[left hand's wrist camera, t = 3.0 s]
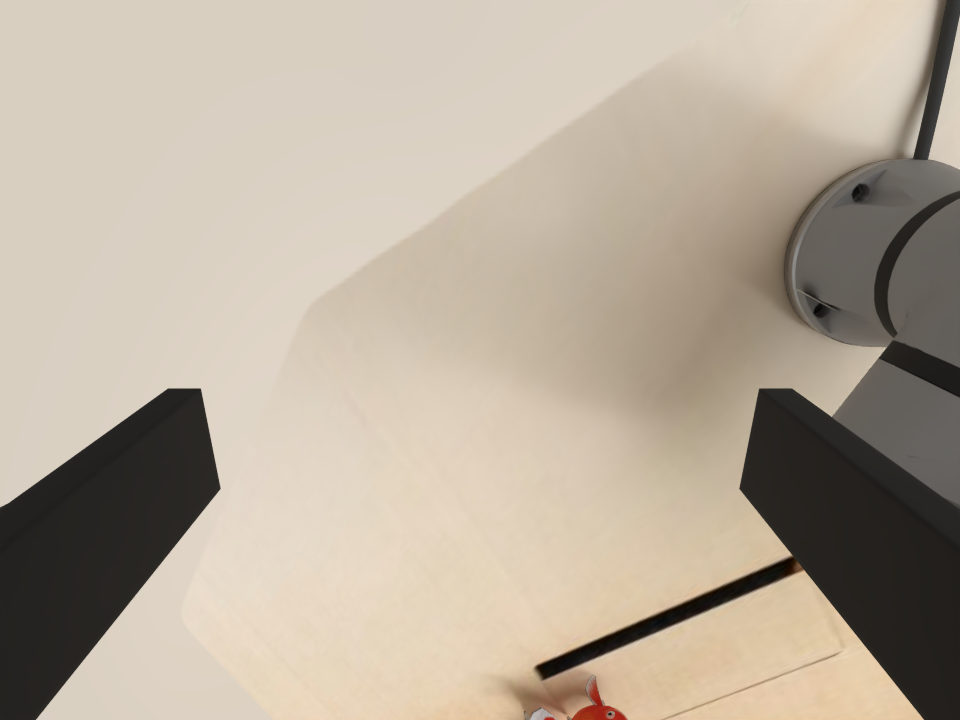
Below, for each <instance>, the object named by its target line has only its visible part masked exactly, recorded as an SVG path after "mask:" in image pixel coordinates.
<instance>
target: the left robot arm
mask: <svg viewBox="0 0 960 720" xmlns="http://www.w3.org/2000/svg"><path fill="white" fill-rule="evenodd" d="M959 16H960V0H947V2H946V7H945V12H944V17H943V22H942V28H941V33H940V38H939V43H938V48H937V53H936V58H935V63H934V68H933V72H932V77H931V82H930V86H929V91H928V96H927V100H926V105H925V109H924V114H923V118H922V123H921V127H920V132H919V136H918V140H917V144H916V149H915V153H914V157H913V159H890V160H884V161H879V162H875V163H871V164H868V165H865V166H862V167H860V168H858V169H856V170H853V171H851V172H850V173H848V174H846V175H844V176H843V177H841V178H840V179H838V180H837V181H835V182H834V183H833V184H831V185H830V186H829V187H827V188H826V189H825V190H824V191H823V192H822V193H821V194H820V195H819V196H818V197H817V198H816V199H815V200H814V201H813V202H812V203H811V205H810V206H809V207H808V208H807V210H806V211H805V213H804V214H803V216H802V217H801V219H800V220H799V222H798V224H797V226H796V227H795V230H794V232H793V234H792V236H791V239H790V242H789V245H788V249H787V253H786V258H785V267H784V276H785V285H786V290H787V294H788V297H789V299H790V302H791V304H792V306H793V308H794V310H795V311H796V312H797V314H798V315H799V317H800V318H801V319H802V320H803V321H804V322H805V323H806V324H808V325H809V326H810V327H811V328H813V329H814V330H816V331H818V332H820V333H822V334H824V335H826V336H828V337H830V338H832V339H834V340H836V341H839V342H842V343H846V344H850V345H856V346H866V347H887V348H886V349H885V351H884V352H883V353H882V355H881V356H880V357H879V358H878V359H877V361H876V362H875V363H874V365H873V366H872V367H871V368H870V370H869V371H868V372H867V373H866V375H865V376H864V377H863V378H862V380H861V381H860V382H859V383H858V385H857V386H856V387H855V389H854V390H853V391H852V392H851V394H850V395H849V396H848V397H847V399H846V400H845V401H844V402H843V404H842V405H841V406H840V407H839V409H838V410H837V411H836V413H835V414H834V415H833V416H832V417H831V416H829V415H828V414H827V413H825V412H824V411H822V410H821V409H820V408H818V407H817V406H815V405H814V404H813V403H811V402H810V401H808V400H807V399H806V398H804V397H803V396H802V395H800V394H799V393H797V392H796V391H795V390H793V389H759V392H758V397H757V402H756V408H755V413H754V418H753V423H752V428H751V433H750V438H749V443H748V448H747V453H746V458H745V463H744V468H743V473H742V478H741V483H740V488H739V489H740V490H741V491H742V493H743V494H744V495H745V496H746V498H747V499H748V500H749V501H750V503H751V504H752V505H753V506H754V508H755V509H756V510H757V511H758V513H759V514H760V515H761V516H762V518H763V519H764V520H765V521H766V523H767V524H768V525H769V526H770V528H771V529H772V530H773V531H774V533H775V534H776V535H777V536H778V538H779V539H780V540H781V541H782V543H783V544H784V545H785V546H786V548H787V549H788V550H789V551H790V553H791V554H792V555H793V556H794V558H795V559H796V560H797V561H798V563H799V564H800V565H801V566H802V568H803V569H804V570H805V571H806V573H807V574H808V575H809V576H810V578H811V579H812V580H813V581H814V583H815V584H816V585H817V586H818V588H819V589H820V590H821V591H822V593H823V594H824V595H825V596H826V598H827V599H828V600H829V601H830V603H831V604H832V605H833V606H834V608H835V609H836V610H837V611H838V613H839V614H840V615H841V616H842V618H843V619H844V620H845V621H846V623H847V624H848V625H849V626H850V628H851V629H852V630H853V631H854V633H855V634H856V635H857V636H858V638H859V639H860V640H861V641H862V643H863V644H864V645H865V646H866V648H867V649H868V650H869V651H870V653H871V654H872V655H873V656H874V658H875V659H876V660H877V661H878V663H879V664H880V665H881V666H882V668H883V669H884V670H885V671H886V673H887V674H888V675H889V676H890V678H891V679H892V680H893V681H894V683H895V684H896V685H897V686H898V688H899V689H900V690H901V691H902V693H903V694H904V695H905V696H906V698H907V699H908V700H909V701H910V703H911V704H912V705H913V706H914V708H915V709H916V710H917V711H918V713H919V714H920V715H921V716H922V718H923V719H924V720H960V170H959V169H957V168H954V167H952V166H950V165H947V164H944V163H941V162H938V161H934V160H928V156H929V152H930V148H931V144H932V140H933V136H934V131H935V127H936V123H937V119H938V114H939V110H940V105H941V101H942V96H943V92H944V87H945V83H946V78H947V74H948V69H949V65H950V60H951V55H952V50H953V46H954V41H955V36H956V31H957V26H958V21H959ZM219 490H220V483H219V478H218V473H217V468H216V463H215V458H214V453H213V448H212V443H211V438H210V433H209V428H208V423H207V418H206V413H205V408H204V403H203V397H202V392H201V389H167V390H165V391H164V392H163V393H161V394H160V395H158V396H157V397H156V398H154V399H153V400H152V401H150V402H149V403H147V404H146V405H145V406H143V407H142V408H140V409H139V410H138V411H136V412H135V413H133V414H132V415H131V416H129V417H128V418H127V419H125V420H124V421H122V422H121V423H120V424H118V425H117V426H115V427H114V428H113V429H111V430H110V431H108V432H107V433H106V434H104V435H103V436H101V437H100V438H99V439H97V440H96V441H94V442H93V443H92V444H90V445H89V446H88V447H86V448H85V449H83V450H82V451H81V452H79V453H78V454H76V455H75V456H74V457H72V458H71V459H69V460H68V461H67V462H65V463H64V464H63V465H61V466H60V467H58V468H57V469H56V470H54V471H53V472H51V473H50V474H49V475H47V476H46V477H44V478H43V479H42V480H40V481H39V482H37V483H36V484H35V485H33V486H32V487H31V488H29V489H28V490H26V491H25V492H24V493H22V494H21V495H19V496H18V497H17V498H15V499H14V500H12V501H11V502H10V503H8V504H6V505H4V506H2V507H0V720H36V719H37V718H38V716H39V715H40V714H41V713H42V711H43V710H44V709H45V708H46V706H47V705H48V704H49V703H50V701H51V700H52V699H53V698H54V696H55V695H56V694H57V693H58V691H59V690H60V689H61V688H62V686H63V685H64V684H65V683H66V681H67V680H68V679H69V678H70V676H71V675H72V674H73V673H74V671H75V670H76V669H77V668H78V666H79V665H80V664H81V663H82V661H83V660H84V659H85V658H86V656H87V655H88V654H89V653H90V651H91V650H92V649H93V648H94V646H95V645H96V644H97V643H98V641H99V640H100V639H101V638H102V636H103V635H104V634H105V633H106V631H107V630H108V629H109V628H110V626H111V625H112V624H113V623H114V621H115V620H116V619H117V618H118V616H119V615H120V614H121V613H122V611H123V610H124V609H125V608H126V606H127V605H128V604H129V603H130V601H131V600H132V599H133V598H134V596H135V595H136V594H137V593H138V591H139V590H140V589H141V588H142V586H143V585H144V584H145V583H146V581H147V580H148V579H149V578H150V576H151V575H152V574H153V573H154V571H155V570H156V569H157V568H158V566H159V565H160V564H161V563H162V561H163V560H164V559H165V558H166V556H167V555H168V554H169V553H170V551H171V550H172V549H173V548H174V546H175V545H176V544H177V543H178V541H179V540H180V539H181V538H182V536H183V535H184V534H185V533H186V531H187V530H188V529H189V528H190V526H191V525H192V524H193V523H194V521H195V520H196V519H197V518H198V516H199V515H200V514H201V513H202V511H203V510H204V509H205V508H206V506H207V505H208V504H209V503H210V501H211V500H212V499H213V498H214V496H215V495H216V494H217V493H218V491H219Z"/></svg>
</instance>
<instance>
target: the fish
mask: <svg viewBox="0 0 960 720" xmlns="http://www.w3.org/2000/svg"><path fill="white" fill-rule="evenodd" d="M586 692H587V694H588V696H589V698H590V700H591V701H592V703H593V704H594V705H591V706H588V707H585V708H583V709H581V710H579V711H578V712H577V713H576V714H575V716H574V717H573V718H572V719H571V718H570V717H569V716H568V717H567V719H568V720H628V719H627V718H626V716H625V715H624V714H623V713H622V712H620V711H619V710H617V709H615V708H612V707H610V706H605V704H604V701H603V700H601V698H600V695H599V692H598V689H597V685H596V677H595V676H591V677H590V678H589V680H588V682H587V685H586ZM524 715H525V718H526V719H525V720H557V719H556V718H555V717H554V716H553V715H551V714H550V713H549V712H547V711H546V710H544V709H543V708H540V709H538V710H536V711H534V712H533V713H532V716H531V717H530V716H529V715H528V714H527V712H526V711H524Z"/></svg>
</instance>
